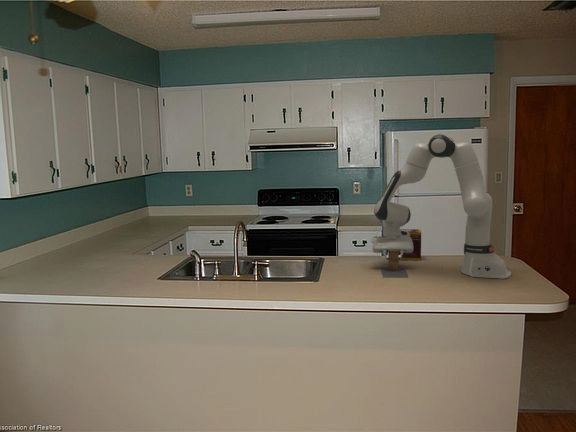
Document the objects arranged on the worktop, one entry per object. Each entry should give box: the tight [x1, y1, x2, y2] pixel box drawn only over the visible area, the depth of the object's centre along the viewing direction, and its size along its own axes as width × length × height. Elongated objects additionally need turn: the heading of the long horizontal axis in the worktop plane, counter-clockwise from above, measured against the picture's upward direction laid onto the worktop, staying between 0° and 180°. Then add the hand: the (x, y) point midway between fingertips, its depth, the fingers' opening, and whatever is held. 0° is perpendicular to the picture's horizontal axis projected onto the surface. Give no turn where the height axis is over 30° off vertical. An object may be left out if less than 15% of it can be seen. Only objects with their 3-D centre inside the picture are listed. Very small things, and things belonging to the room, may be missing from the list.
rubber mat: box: [380, 266, 409, 279], centre depth 254 cm, size 20×12×1 cm, turn 173°
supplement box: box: [398, 228, 422, 262], centre depth 284 cm, size 10×15×16 cm
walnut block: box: [387, 250, 399, 271], centre depth 257 cm, size 4×4×10 cm
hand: (393, 259), depth 257 cm, fingers open, 5 cm apart
